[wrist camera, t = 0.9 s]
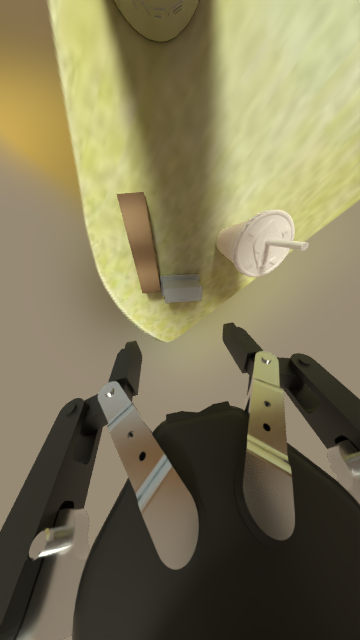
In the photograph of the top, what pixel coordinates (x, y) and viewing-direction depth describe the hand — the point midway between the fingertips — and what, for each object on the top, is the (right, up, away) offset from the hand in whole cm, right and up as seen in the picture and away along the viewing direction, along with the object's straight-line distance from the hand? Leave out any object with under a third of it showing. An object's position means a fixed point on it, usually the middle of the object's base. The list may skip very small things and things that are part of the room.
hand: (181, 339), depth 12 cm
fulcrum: (0, +9, +13) cm, 16 cm away
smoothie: (+8, +15, +10) cm, 20 cm away
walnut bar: (-6, +13, +9) cm, 17 cm away
